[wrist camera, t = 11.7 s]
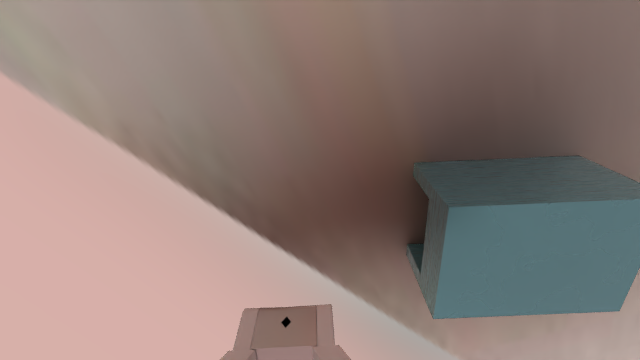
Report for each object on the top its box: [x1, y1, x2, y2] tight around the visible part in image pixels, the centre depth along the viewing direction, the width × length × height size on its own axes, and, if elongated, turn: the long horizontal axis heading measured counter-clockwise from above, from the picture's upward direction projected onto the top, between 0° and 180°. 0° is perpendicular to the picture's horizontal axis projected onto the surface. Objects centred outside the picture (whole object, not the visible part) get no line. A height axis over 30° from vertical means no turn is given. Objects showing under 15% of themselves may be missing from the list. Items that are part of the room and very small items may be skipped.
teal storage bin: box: [406, 156, 640, 319], centre depth 15 cm, size 8×6×4 cm
